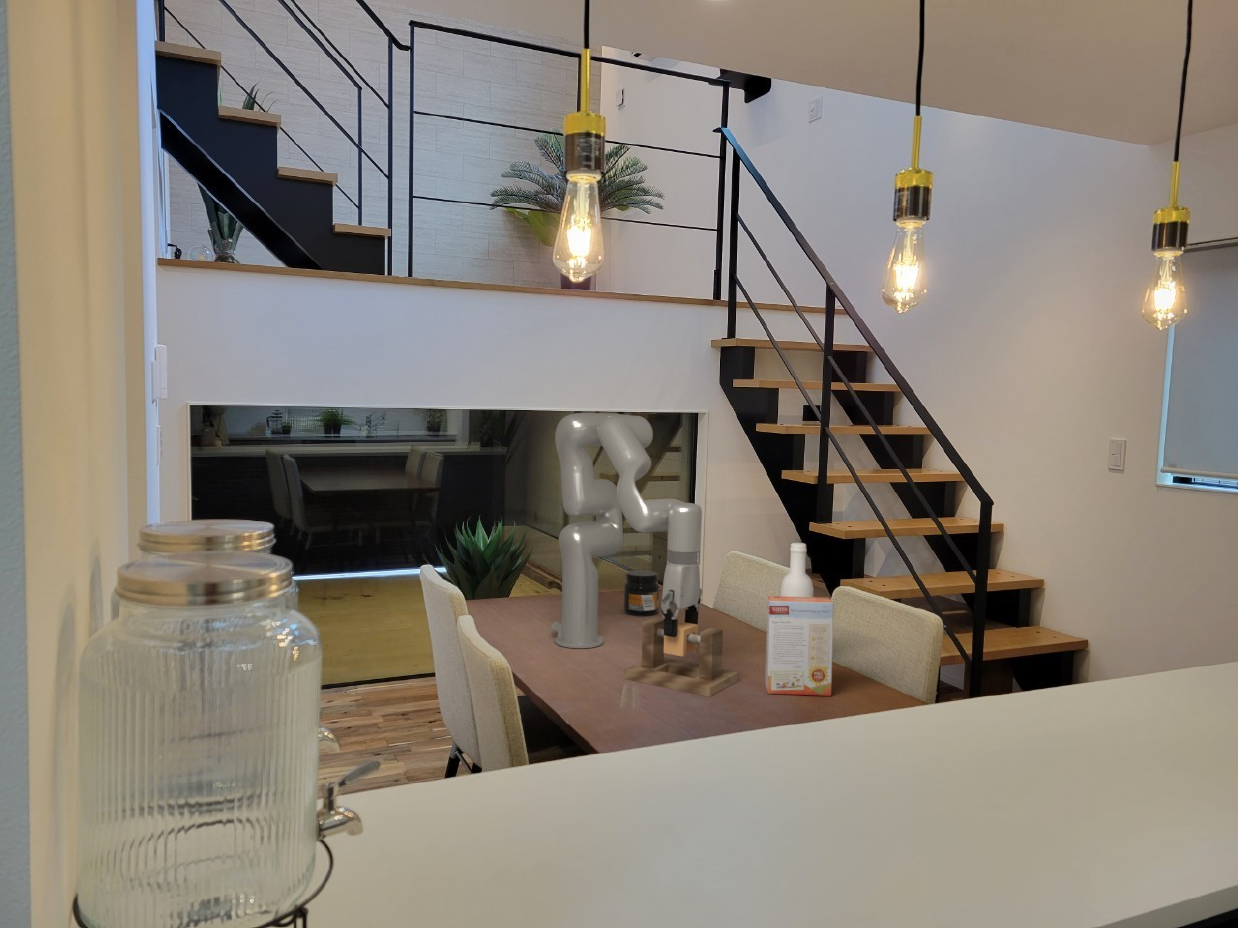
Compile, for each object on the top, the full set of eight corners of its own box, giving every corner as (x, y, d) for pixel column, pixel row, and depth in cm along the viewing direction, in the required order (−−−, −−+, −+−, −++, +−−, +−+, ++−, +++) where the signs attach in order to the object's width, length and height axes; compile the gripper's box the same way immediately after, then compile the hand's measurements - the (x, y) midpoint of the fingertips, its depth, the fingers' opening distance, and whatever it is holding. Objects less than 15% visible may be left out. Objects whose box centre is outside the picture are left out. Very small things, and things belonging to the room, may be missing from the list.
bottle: (771, 666, 221) (775, 543, 219) (786, 659, 227) (790, 540, 225) (802, 673, 216) (806, 547, 214) (816, 665, 222) (821, 543, 220)
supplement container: (652, 618, 268) (652, 577, 267) (618, 614, 271) (619, 574, 270) (663, 610, 277) (664, 571, 277) (630, 607, 281) (631, 568, 280)
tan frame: (623, 678, 209) (624, 624, 208) (655, 664, 221) (656, 613, 220) (709, 696, 197) (711, 639, 196) (737, 680, 209) (739, 627, 208)
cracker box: (827, 688, 205) (830, 596, 203) (831, 697, 199) (835, 602, 197) (764, 685, 206) (767, 594, 204) (766, 694, 200) (769, 600, 198)
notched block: (663, 652, 207) (664, 626, 207) (678, 646, 213) (679, 621, 212) (682, 656, 204) (683, 630, 204) (697, 650, 210) (698, 624, 210)
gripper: (687, 550, 216) (684, 621, 218) (649, 560, 202) (647, 636, 203) (715, 554, 212) (712, 626, 214) (679, 565, 198) (676, 642, 199)
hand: (680, 631), depth 208 cm, fingers open, 9 cm apart
